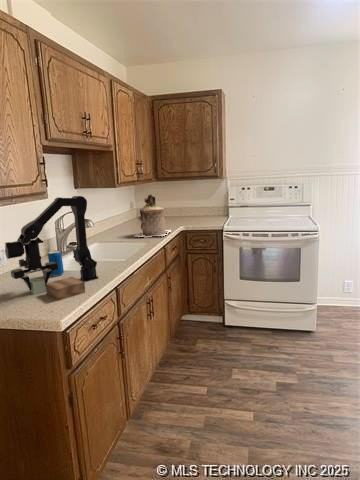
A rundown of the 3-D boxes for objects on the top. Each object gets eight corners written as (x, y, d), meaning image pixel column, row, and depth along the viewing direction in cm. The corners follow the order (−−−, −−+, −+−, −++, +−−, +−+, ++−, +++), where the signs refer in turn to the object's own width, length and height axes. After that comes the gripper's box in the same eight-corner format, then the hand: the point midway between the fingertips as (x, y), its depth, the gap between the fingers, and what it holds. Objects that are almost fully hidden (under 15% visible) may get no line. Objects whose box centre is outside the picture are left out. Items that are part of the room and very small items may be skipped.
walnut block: (73, 287, 159) (72, 276, 158) (85, 293, 150) (84, 281, 149) (47, 294, 151) (45, 283, 150) (58, 301, 142) (56, 289, 141)
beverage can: (65, 272, 183) (62, 250, 180) (61, 276, 176) (58, 253, 174) (53, 273, 183) (50, 250, 180) (49, 277, 176) (45, 253, 174)
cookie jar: (172, 231, 283) (169, 192, 277) (164, 238, 260) (161, 194, 254) (143, 232, 289) (140, 193, 283) (133, 238, 266) (129, 196, 259)
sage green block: (42, 288, 159) (40, 278, 158) (46, 291, 155) (44, 280, 154) (30, 291, 156) (29, 280, 155) (34, 294, 152) (32, 283, 151)
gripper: (47, 247, 164) (52, 279, 167) (4, 255, 152) (10, 290, 155) (56, 251, 155) (61, 284, 158) (12, 259, 144) (17, 296, 147)
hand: (38, 288), depth 155 cm, fingers open, 6 cm apart
